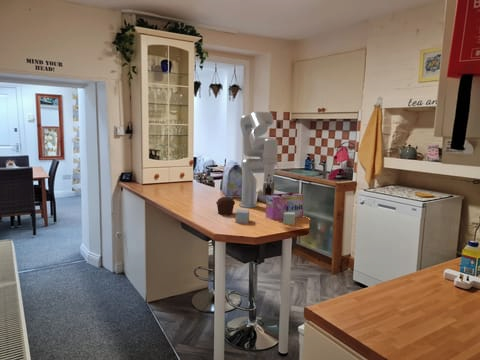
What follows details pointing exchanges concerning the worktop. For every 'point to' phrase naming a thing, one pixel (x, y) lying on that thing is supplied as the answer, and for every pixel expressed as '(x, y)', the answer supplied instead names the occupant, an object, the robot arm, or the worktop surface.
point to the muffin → (225, 205)
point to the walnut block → (271, 189)
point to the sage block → (289, 218)
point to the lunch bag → (232, 180)
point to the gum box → (284, 205)
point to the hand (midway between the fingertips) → (268, 193)
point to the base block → (242, 216)
